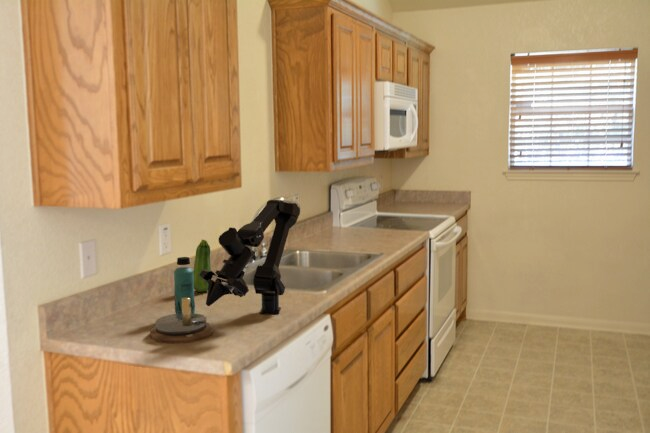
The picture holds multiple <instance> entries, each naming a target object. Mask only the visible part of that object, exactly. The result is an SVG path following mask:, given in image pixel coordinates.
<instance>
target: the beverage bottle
mask: <svg viewBox="0 0 650 433" xmlns="http://www.w3.org/2000/svg"><path fill="white" fill-rule="evenodd" d="M176 261H177V262H176V265H178V266H179V267H176V269H175V270H174V271H173V279H174V280H173V282H174V289H173V290H174V293H173V295H174V300H173V301H174V314H180V313H182V298H184V297H190V298H191V313H194V314H195V311H196V302H195V292H196V291H195V289H194V278H193V272H194V269H193V268H192V267H190V266H189V265H190V264H191V262H190V257H189V256H180V257H177V258H176ZM187 265H188V266H187Z"/></svg>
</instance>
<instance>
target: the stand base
mask: <svg viewBox="0 0 650 433" xmlns="http://www.w3.org/2000/svg"><path fill="white" fill-rule="evenodd" d="M212 333H213V325H212V324H210V323H209V322H207V327H206V329H204V330H203V331H200V332H197V333H193V334H188V335H176V336H175V335H163V334H160V333H158V332H156V325H154V327H152V328H151V329H150V337H151V339H152V340H153V341H156V342H159V343H165V344H185V343H192V342H196V341H200V340H203V339H206V338H209V337H210V336H211V335H212Z"/></svg>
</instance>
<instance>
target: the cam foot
mask: <svg viewBox="0 0 650 433" xmlns="http://www.w3.org/2000/svg"><path fill="white" fill-rule="evenodd" d="M207 319H208V318H207V316H205V315H204V314H199V313H195V312H194V313H191V298H190V297H184V298H182V313H180V314H176V313H173V314H168V315H163V316H161V317H159V318H157V319H156V320H155V323H154V324H155V326H156V332H158V333H160V334H163V335H175V336H176V335H188V334H193V333H197V332H200V331H203V330H204V329H206V327H207V323H208V322H207Z"/></svg>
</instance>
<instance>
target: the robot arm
mask: <svg viewBox="0 0 650 433" xmlns="http://www.w3.org/2000/svg"><path fill="white" fill-rule="evenodd" d="M300 215H301V208H300V206H298V204H297V203H295V202H286V201H283V200H281V199H269V200H268V201H267V202H266V205H265V206H264V207H263V208H262V209H261V210H260V212H259V213H258V214H257V215H256V216H255V218H253V220H252V221H251V222H249V223H246V224H244V225H243V226H241V227H240V228H239V229H238V230H237V229H236V227H229V228H228V230H225V231H224V232H222V233H221V234H220V235H219V237H218V243H219V245H220V246H221V247H222V248H223V249H224V251H225V252H226V253H227V254H228V255H229V257H228V258H227V259H223V260H222V263H223V265H222V267H221V269H220V270H218V269H217V270H215V272H214V271H212V270H211V271H210V270H202V271H201V273H200V274H199V276H200V277H201V278H202V279H204V280H205V281H206V282H207V283H208V284H209V285H208V290H207V295H206V300H205V305H206V306H207V307H211V306H212V305H213V304H214V303H215V302H217V301H218V300H220V299H221V298H223V297H224V296H226V295H234V297H235V296H236V297H237V296H238V297H240V298H242V297H244V296H246V295H247V293H248V292H249V291H250V289H249V287H248V285H247V283H246V281H245V280H244V278H243V277H244V276H245V271H244V270H245V269H246V266H248V263H249V262H250V261H251V260H253V261H256V260H257V256H256V251H255V250H252V249H251V248H258V247H260V246H261V243H262V242H263V240H264V238H265V235H264V234H265V232H266V230H267V228H268V227H269V226H270V225H271V224H272V223H273V221H274V223H275V225H274V229H273V233H272V237H271V240H270V243H269V247H268V250H267V254H266V257H265V260H264V263H263V264H261V265H257V266H256V269H255V273H254V275H253V280H252V283H253V288H254V292H255V294H256V295H259V294H260V295H261V308H260V310H259V314H262V315H264V314H268V315H269V314H270V315H271V314H272V315H273V314H277V315H278V314H279V315H280V312H281V310H282V307H280V303H279V302H280V300H279V299H280V297H279V296H283V295H284V294H285V290H286V286H285V285H284V283H283V282H282V281H281V278H282V274H281V272H280V268H279V267H280V264H281V260H282V257H283V253H284V250H285V247H286V242H287V239H288V234H289V231H290V230H291V228H292V227H293V226H295V224H297V222H298V219H299V216H300Z"/></svg>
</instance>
